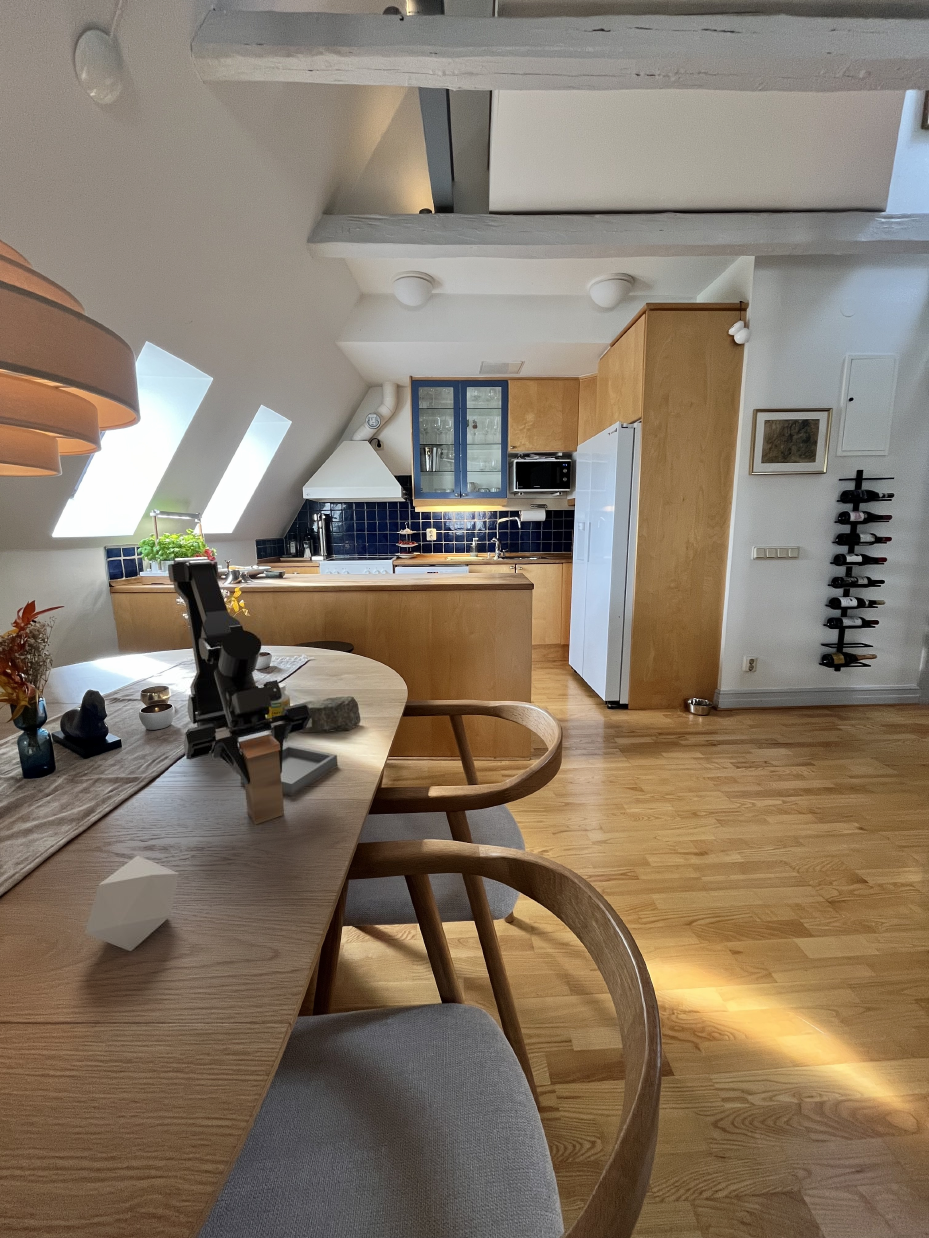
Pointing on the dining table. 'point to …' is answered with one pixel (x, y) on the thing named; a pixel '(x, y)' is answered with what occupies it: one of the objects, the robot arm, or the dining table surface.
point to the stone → (333, 714)
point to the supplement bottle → (279, 703)
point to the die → (132, 903)
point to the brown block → (263, 778)
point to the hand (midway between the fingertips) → (264, 778)
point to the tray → (303, 767)
